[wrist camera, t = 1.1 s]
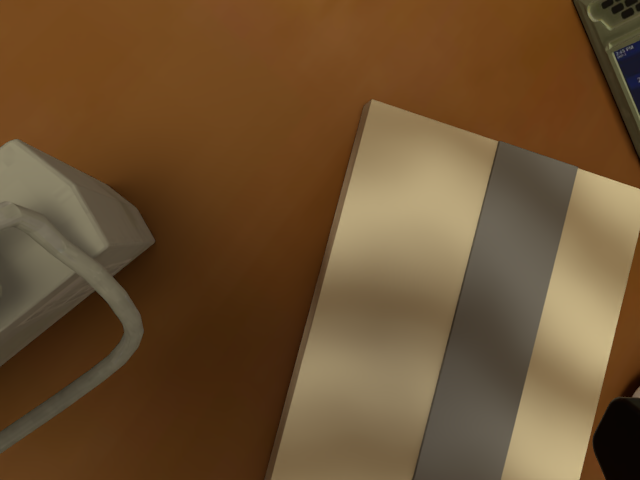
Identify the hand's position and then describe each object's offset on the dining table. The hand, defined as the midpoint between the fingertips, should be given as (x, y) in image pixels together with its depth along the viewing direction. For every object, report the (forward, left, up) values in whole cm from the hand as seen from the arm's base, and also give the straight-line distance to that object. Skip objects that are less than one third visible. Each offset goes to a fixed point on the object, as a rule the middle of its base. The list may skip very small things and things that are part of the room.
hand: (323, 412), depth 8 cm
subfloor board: (0, -10, -16) cm, 19 cm away
